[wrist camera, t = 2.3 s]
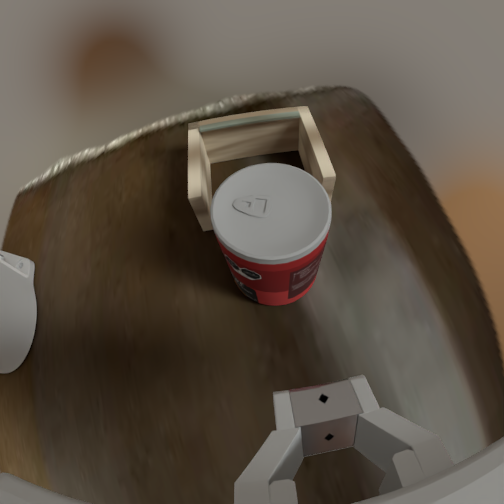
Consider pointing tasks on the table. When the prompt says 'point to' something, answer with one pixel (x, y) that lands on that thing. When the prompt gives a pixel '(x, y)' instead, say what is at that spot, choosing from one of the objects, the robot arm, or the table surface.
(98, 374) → the table surface
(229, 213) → the canned food
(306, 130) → the dock
